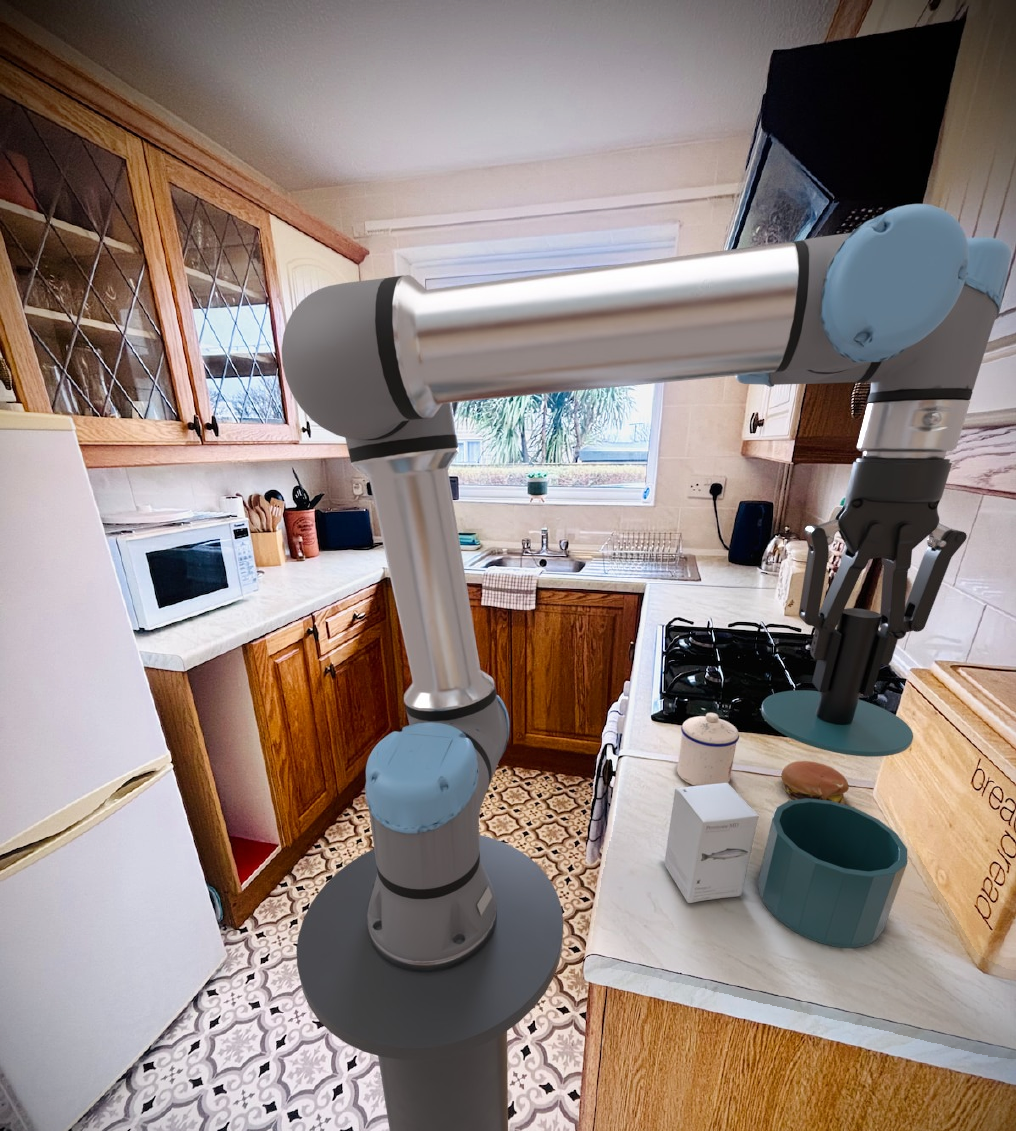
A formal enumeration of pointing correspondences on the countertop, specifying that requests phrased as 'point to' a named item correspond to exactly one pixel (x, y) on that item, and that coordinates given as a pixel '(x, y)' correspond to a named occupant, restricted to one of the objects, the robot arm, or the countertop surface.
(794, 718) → the tin lid
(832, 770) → the burger
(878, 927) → the tin
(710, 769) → the teacup with lid
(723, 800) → the white packaging box
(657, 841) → the countertop surface
